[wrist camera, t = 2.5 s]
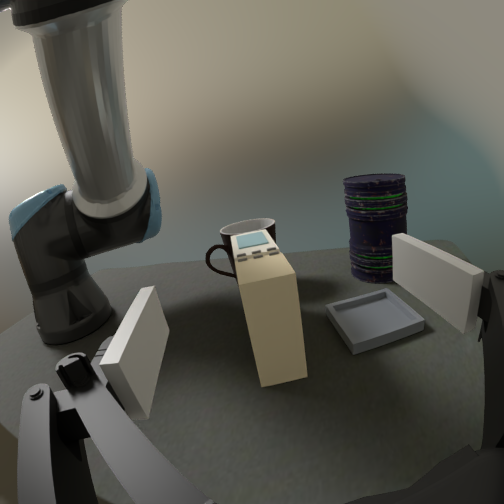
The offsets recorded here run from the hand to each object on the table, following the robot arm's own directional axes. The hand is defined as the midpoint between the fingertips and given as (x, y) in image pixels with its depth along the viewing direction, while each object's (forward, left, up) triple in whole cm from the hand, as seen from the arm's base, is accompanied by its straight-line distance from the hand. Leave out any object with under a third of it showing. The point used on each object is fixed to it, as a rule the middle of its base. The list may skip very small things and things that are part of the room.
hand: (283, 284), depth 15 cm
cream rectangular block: (0, +10, -14) cm, 17 cm away
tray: (+12, +13, -14) cm, 22 cm away
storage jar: (+20, +26, -14) cm, 36 cm away
